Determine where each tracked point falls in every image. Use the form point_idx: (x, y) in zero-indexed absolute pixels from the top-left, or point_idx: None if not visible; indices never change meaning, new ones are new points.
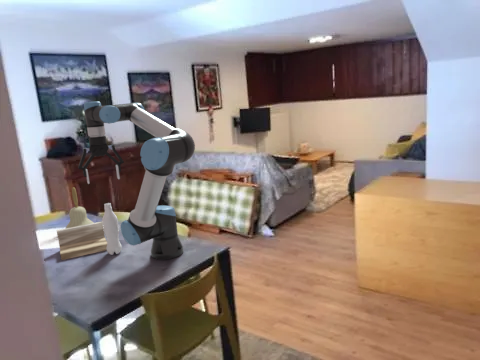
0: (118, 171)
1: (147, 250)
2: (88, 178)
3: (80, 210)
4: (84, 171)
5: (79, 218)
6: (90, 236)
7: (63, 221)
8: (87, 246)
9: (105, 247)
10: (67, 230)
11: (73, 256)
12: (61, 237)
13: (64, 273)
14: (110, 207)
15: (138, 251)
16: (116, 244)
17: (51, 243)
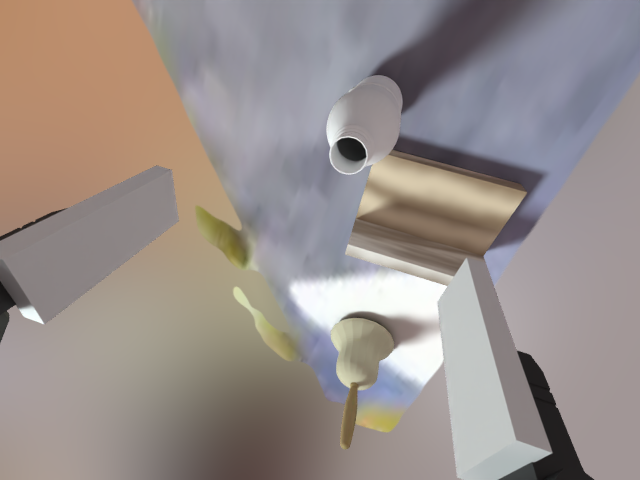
0: (83, 203)
1: (288, 23)
2: (485, 305)
3: (352, 367)
4: (552, 442)
5: (362, 349)
6: (394, 235)
7: None
8: (431, 186)
9: None
10: None
11: (484, 175)
12: None
13: (604, 49)
14: (343, 132)
15: (315, 42)
16: (373, 79)
17: None
